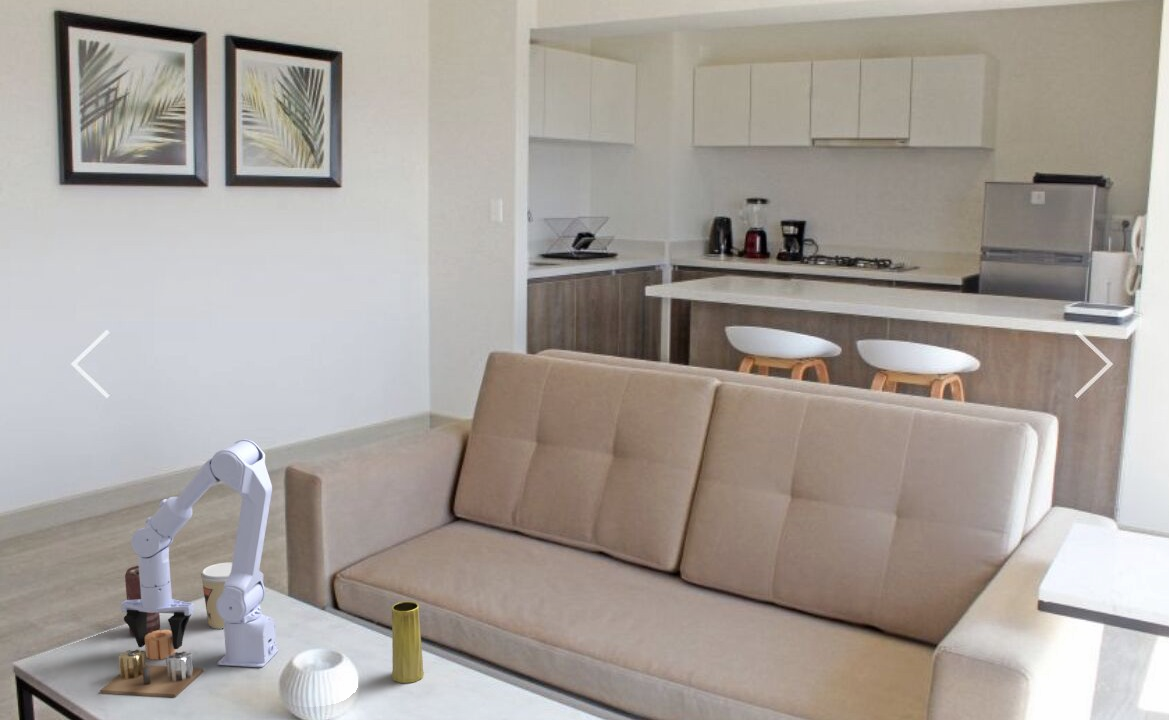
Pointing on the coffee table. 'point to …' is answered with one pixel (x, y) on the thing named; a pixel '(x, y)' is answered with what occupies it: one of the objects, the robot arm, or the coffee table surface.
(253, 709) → the coffee table surface
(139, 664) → the gear
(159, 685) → the gear board
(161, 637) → the idler gear
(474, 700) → the coffee table surface
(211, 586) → the coffee cup
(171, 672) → the gear
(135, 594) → the can
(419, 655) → the vase
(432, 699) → the coffee table surface
